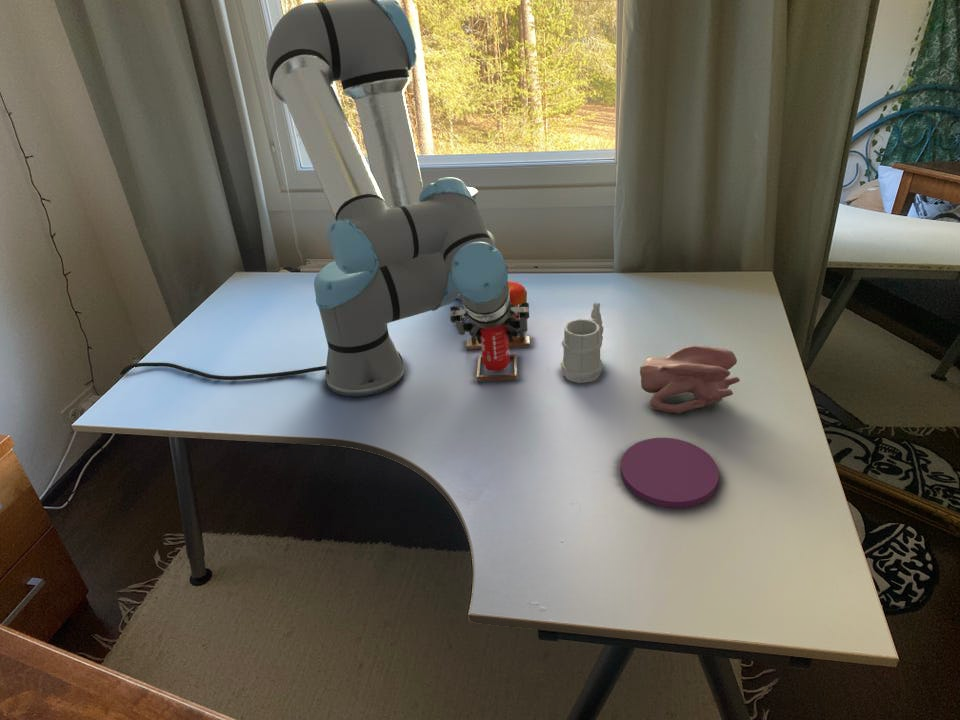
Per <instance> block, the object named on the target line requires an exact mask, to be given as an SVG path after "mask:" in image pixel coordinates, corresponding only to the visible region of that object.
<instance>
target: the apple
mask: <svg viewBox="0 0 960 720" xmlns="http://www.w3.org/2000/svg"><path fill="white" fill-rule="evenodd" d="M508 287H509V294H510V302H511V303H512V304H513V305H514V307H517V305H521V304H522V303H525V302H526V303H528V302H527V299H528V291H527V290H526V288H525V286H524V285H523V284H522V283H519V282H517V281H511V280H510V281H509V280H508ZM513 316H514V317H515V318H516V319H517V321H518V320H519V319H518V316H517V315H516V314H514V315H513ZM518 332H520V330H518Z"/></svg>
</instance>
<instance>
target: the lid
mask: <svg viewBox="0 0 960 720" xmlns="http://www.w3.org/2000/svg"><path fill="white" fill-rule="evenodd" d="M619 471H620V476H621V477H620V478H621V479H622V481H623V484H624V485H625V486H626V488H627V489H628V490H629V491H630V492H631V493H632V494H633V495H634V496H636V497H637V498H639V499H641V500H643V501H645V502H647V503H649V504H652V505H655V506H659V507H664V508H671V509H682V508H683V509H684V508H690V507H695V506H698V505H700V504H703V503H704V502H706V501H707V500H709V499H710V498H711V497H712V496H713V495H714V494H715V492H716V490H717V488H718V486H719V479H720V472H719V468H718V465H717V463H716V461H715V460H714V458H712V456H711V455H710V454H709V453H708V452H706V451H705V450H704V449H703V448H701V447H700V446H697V445H696V444H694V443H691V442H688V441H685V440H682V439H678V438H672V437H653V438H652V437H651V438H647V439H643V440H640V441H638V442H636V443H634V444H632V445H631V446H630V447H628V448H627V449H626V451H625V452H623V455H622V457H621V460H620V469H619Z"/></svg>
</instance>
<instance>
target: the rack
mask: <svg viewBox="0 0 960 720" xmlns="http://www.w3.org/2000/svg"><path fill="white" fill-rule="evenodd" d="M508 342H509V339H508ZM528 347H529V348H530V347H531V338H530V335H529V336H528V335H526V332H523V331H521V330H519V336H517V337H513V342H512V343H509V349H510V348H528ZM466 350H482V347H481V344H479V343H478V341H477V338H476V337H472V336H471V335H470V338H467V340H466ZM509 358H510V361H513V373H510V374H485V375H481V370H482V362H483V358H482V355H478V358H477V368H476V370H477V371H476V382H494V381H495V382H496V381H497V382H498V381H516V380H518V353H515V354H510V353H509Z"/></svg>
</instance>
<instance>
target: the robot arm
mask: <svg viewBox="0 0 960 720" xmlns="http://www.w3.org/2000/svg"><path fill="white" fill-rule="evenodd" d="M416 51H417V43H416V38H415V35H414V32H413V29H412V25H411V23H410V20H409V18H408V15H407V13H406V12H405V9H403V7H402V6H401V4H400V3H399V2H398V1H397V0H327V1H318V2H305V3H302V4H299V5H297V6H294V7H292V8H291V9H290V10H288V11H287V12H286V13H284V15H283V16H281V18H280V19H279V20H278V22H277V23H276V25H275V26H274V28H273V30H272V33H271V34H270V37H269V40H268V44H267V49H266V56H265V57H266V58H265V60H266V72H267V76H268V80H269V82H270V85H271V86H272V90H273V93H274V94H275V96H276V97H277V98H278V100H279V101H280V102H281V103H283V104H285V105H286V106H287V109H288V111H289V113H290V116H291V118H292V120H293V123H294V125H295V127H296V130H297V132H298V135H299V137H300V139H301V141H302V142H301V143H302V144H303V146H304V149H305V151H306V154H307V155H308V158H309V160H310V163H311V166H312V167H313V170H314V172H315V175H316V177H317V179H318V182H319V184H320V187H321V189H322V191H323V193H324V196H325V198H326V200H327V203H328V205H329V207H330V210H331V212H332V215H333V217H334V220H335V221H332V222H331V223H329V224H328V226H327V239H328V244H329V249H330V250H331V253H332V258H333V259H334V260H333V261H331V262H330V263H327V264H326V265H324V266H323V267H322V268H321V269H320V270H319V271H318V272H317V274H316V275H315V278H314V280H313V288H314V294H315V304H316V306H317V308H318V311H319V313H320V314H319V315H320V317H321V318H320V319H321V322H322V326H323V331H324V336H325V339H326V343H327V355H326V363H325V364H326V365H320V366H314V367H308V368H303V369H295V370H289V371H281V372H280V371H279V372H271V373H270V372H269V373H258V374H246V375H244V374H243V375H217V374H210V373H206V372H203V371H200V370H197V369H193V368H189V367H185V366H182V365H178V364H175V363H171V362H136V363H132V364H129V365H127V366H125V367H124V368H123V369H122V370H121V371H120V373H119V375H124V374H126V373H127V372H128V371H130V370H132V369H135V368H142V367H144V368H145V367H164V368H165V367H166V368H172V369H176V370H179V371H182V372H185V373H190V374H194V375H197V376H200V377H203V378H206V379H212V380H217V381H218V380H220V381H243V380H254V379H255V380H256V379H270V378H279V377H287V376H295V375H302V374H308V373H313V372H320V371H325V375H324V376H325V380H326V384H327V386H328V388H329V389H330V390H331V391H332V392H333V393H335V394H337V395H339V396H343V397H350V398H359V397H360V398H361V397H368V396H372V395H377V394H379V393H382V392H384V391H387V390H389V389H390V388H392V387H394V386H395V385H396V384H397V383H398V382H400V381H401V380H402V378H403V376H404V374H405V364H404V359H403V356H402V355H401V352H399V350H397V348H396V346H395V343H394V341H393V340H392V338H391V336H390V333H389V328H388V324H389V323H393V322H396V321H401V320H403V319H408V318H410V317H414V316H417V315H420V314H424V313H427V312H431V311H432V312H433V311H434V312H435V311H437V310H439V309H440V308H443V307H446V306H449V305H451V304H453V303H454V302H455V301H456V299H457V298H456V297H457V295H458V293H459V295H460V298H461V300H460V301H461V303H462V306H463V308H462V307H458V306H455V305H453V306H450V309H449V311H450V312H449V313H450V322H451V323H453V324H455V327H456V329H457V332H458V335H460V336H461V335H462V336H463V335H466V333H468V334H469V336H470V337H471V336H472V337H476V339H477V341H478V343H479V344H481V336H480V327H481V328H487V329H488V328H494V327H497V326H504V327H505V328H506V329H507V331H508V339H509V343H512V342H513V337H519V331H520V330H521V331H523V332H525V333H526V332H528V330H529V329H528V320H529V318H530V304H529V302H527V303H526V302H525V303H522V304H521V305H517V307H514V305H513V304H512V303H511V302H510V294H509V287H508V281H509V280H508V278H509V275H508V272H509V270H508V266H507V263H506V262H505V259H504V257H503V255H502V253H501V251H500V250H499V249H498V248H496V244H495V245H494V243H493V241H492V240H491V238H490V236H489V234H488V232H487V230H488V229H487V227H486V224H485V222H484V220H483V217H482V215H481V213H480V210H479V207H478V205H477V203H476V200H475V201H474V199H473V197H472V195H471V193H470V192H469V190H468V188H467V187H468V186H467V185H466V183H465V182H464V181H463V180H462V179H459V178H458V177H450V176H449V177H442V178H438V180H436V181H435V182H430V183H429V184H428V185H426V186H425V187H424V185H423V180H422V176H421V170H420V165H419V161H418V156H417V155H418V154H417V151H416V146H415V141H414V137H413V132H412V127H411V121H410V117H409V113H408V108H407V102H406V97H405V90H406V88H407V87H408V84H409V83H410V81H411V78H410V73H409V72H410V71H411V70H413V69H414V68H415V66H416V63H417V52H416ZM338 81H340V83H341V87H342V91H343V94H344V95H346V96H348V97H349V98H350V99H352V100H353V102H354V103H355V107H356V112H357V116H358V122H359V126H360V129H361V134H362V138H363V143H364V147H365V151H366V156H367V159H368V162H367V160H366V157H365V155H364V153H363V151H362V149H361V147H360V144H359V142H358V140H357V137H356V136H355V133H354V131H353V129H352V127H351V125H350V122H349V121H348V117H347V116H346V113H345V111H344V109H343V107H342V105H341V103H340V101H339V98H338V97H337V94H336V92H335V90H334V88H333V85H334V82H338ZM514 314H516V315H517V316H518V319H519V320H518V321H517V319H516V318H515V317H514V316H513V315H514ZM465 318H466V319H467V320H468V322H466V319H465ZM518 330H519V331H518ZM134 367H135V368H134Z"/></svg>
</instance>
